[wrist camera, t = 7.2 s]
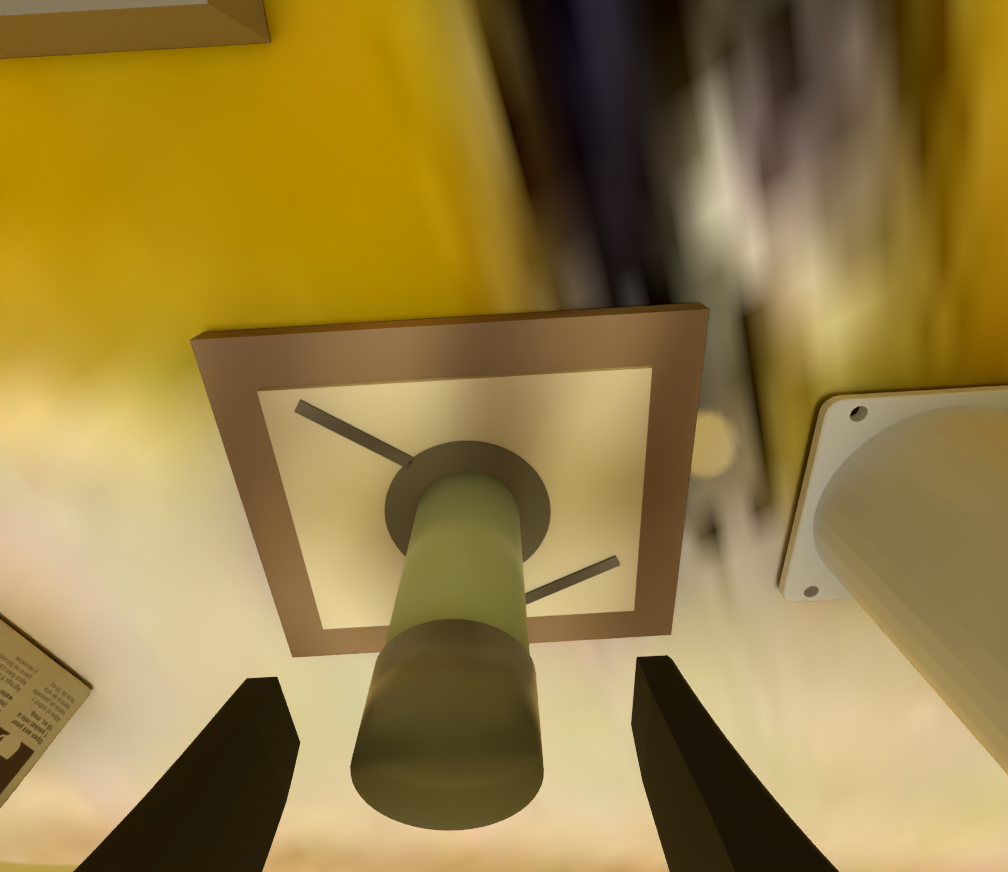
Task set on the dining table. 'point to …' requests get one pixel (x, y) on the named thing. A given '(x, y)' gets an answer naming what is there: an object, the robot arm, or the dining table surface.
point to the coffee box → (30, 706)
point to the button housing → (126, 25)
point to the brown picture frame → (464, 458)
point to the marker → (455, 670)
